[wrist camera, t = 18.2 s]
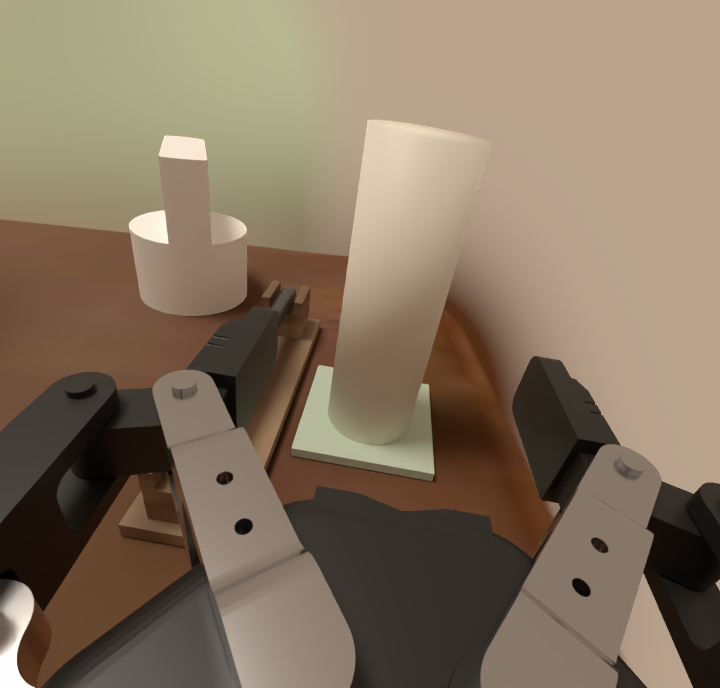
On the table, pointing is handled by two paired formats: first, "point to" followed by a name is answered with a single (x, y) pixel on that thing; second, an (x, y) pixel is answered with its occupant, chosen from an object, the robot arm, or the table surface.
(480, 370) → the table surface
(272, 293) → the rail stand
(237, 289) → the cylinder with rectangular tab
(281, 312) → the metal rod
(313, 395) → the sage mat
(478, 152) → the tall cream cylinder
